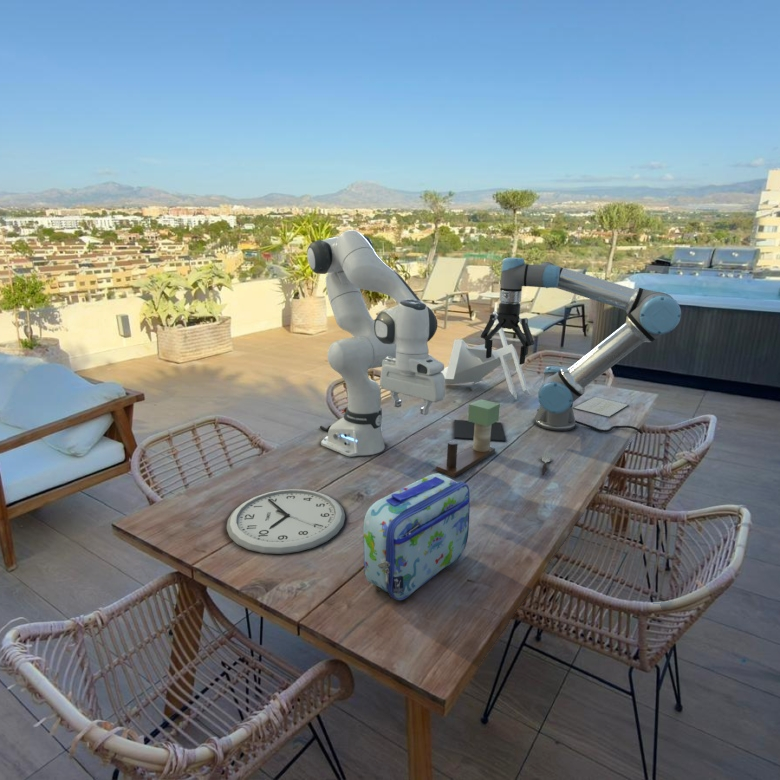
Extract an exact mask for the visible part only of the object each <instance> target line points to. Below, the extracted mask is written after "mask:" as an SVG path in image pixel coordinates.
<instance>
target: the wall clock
mask: <svg viewBox="0 0 780 780" xmlns="http://www.w3.org/2000/svg"><path fill="white" fill-rule="evenodd" d="M345 520H346V515H345V511H344V508H343V507H342V505H341V504H340V503H339V502H338V501H337V500H336V499H334V498H333V497H331V496H329V495H327V494H324V493H322V492H319V491H315V490H309V489H298V488H297V489H295V488H292V489H289V488H288V489H280V490H279V489H278V490H274V491H270V492H269V491H268V492H265V493H262V494H260V495H257V496H254V497H252V498H250V499H248V500H246V501H245V502H243V503H241V504H240V505H239V506H237V508H236V509H234V510H233V511H232V512H231V514H230V516H229V517H228V519H227V522H226V531H227V534H228V537H229V538H230V539H231V540H232V541H233V542H234V543H235V544H236V545H238V546H240V547H242V548H244V549H246V550H248V551H253V552H256V553H261V554H271V555H273V554H274V555H281V554H282V555H283V554H291V553H300V552H303V551H306V550H311V549H314V548H316V547H318V546H320V545H322V544H325V543H328V541H330V540H332V538H334V537H335V536H336V535H338V533H339V532H340V531H341V530H342V528H343V527H344V524H345Z"/></svg>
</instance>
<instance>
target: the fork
mask: <svg viewBox="0 0 780 780" xmlns="http://www.w3.org/2000/svg"><path fill="white" fill-rule="evenodd" d="M547 453H549V454H547ZM547 453H545V452H542V458H541V461H542V462H543V465H542V476H544V475H545V472H546V471H547V463H550V462H551V455H552V454H551V453H552V452H551V451H550V452H549V451H548V452H547Z"/></svg>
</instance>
